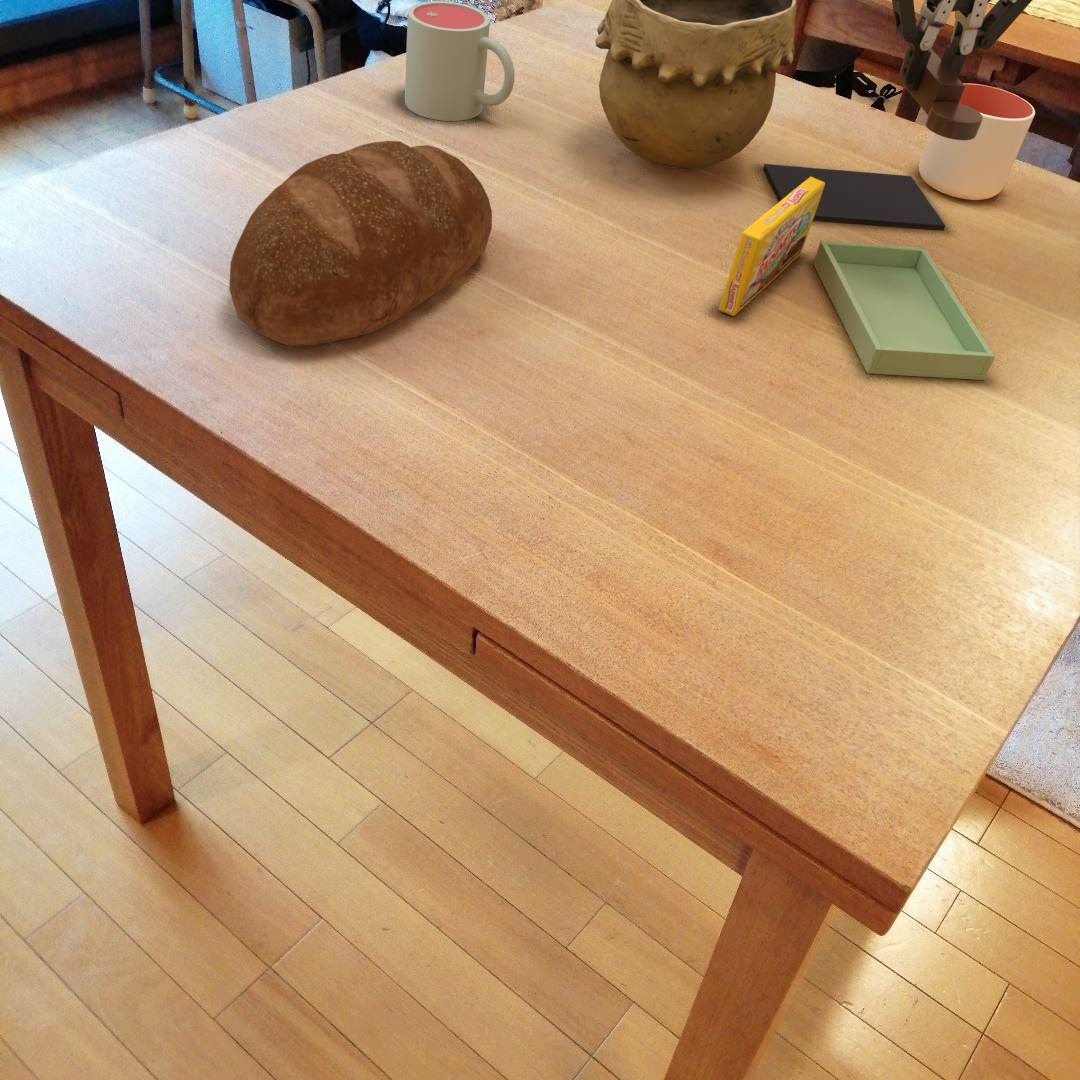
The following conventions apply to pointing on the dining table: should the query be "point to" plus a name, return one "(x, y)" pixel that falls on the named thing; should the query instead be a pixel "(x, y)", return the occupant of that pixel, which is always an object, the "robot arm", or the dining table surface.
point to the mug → (451, 61)
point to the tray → (901, 312)
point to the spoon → (944, 101)
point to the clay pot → (692, 74)
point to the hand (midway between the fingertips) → (925, 88)
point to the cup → (979, 146)
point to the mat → (860, 197)
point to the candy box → (771, 245)
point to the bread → (357, 242)
